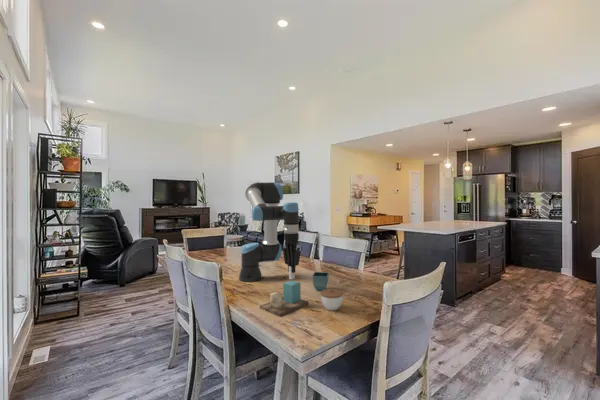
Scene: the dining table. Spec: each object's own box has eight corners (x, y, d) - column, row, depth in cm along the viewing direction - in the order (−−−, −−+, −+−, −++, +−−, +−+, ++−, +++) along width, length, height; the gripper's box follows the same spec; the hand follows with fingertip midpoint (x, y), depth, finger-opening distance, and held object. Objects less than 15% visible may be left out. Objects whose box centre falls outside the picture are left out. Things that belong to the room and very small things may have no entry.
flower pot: (327, 292, 167) (327, 276, 167) (312, 291, 168) (312, 275, 168) (329, 287, 175) (328, 272, 175) (314, 286, 177) (314, 271, 177)
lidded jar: (319, 304, 148) (319, 286, 148) (340, 303, 149) (340, 285, 149) (322, 312, 137) (322, 292, 137) (345, 311, 138) (345, 292, 138)
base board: (259, 308, 143) (259, 305, 143) (288, 298, 158) (288, 295, 158) (279, 316, 133) (279, 313, 133) (308, 304, 148) (308, 301, 148)
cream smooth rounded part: (268, 309, 141) (267, 294, 141) (276, 306, 145) (276, 291, 145) (276, 312, 138) (275, 297, 137) (284, 309, 142) (284, 294, 142)
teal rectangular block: (283, 300, 149) (283, 283, 149) (291, 297, 154) (291, 280, 154) (292, 303, 145) (291, 285, 145) (300, 300, 150) (300, 282, 150)
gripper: (277, 232, 151) (277, 277, 151) (295, 234, 142) (296, 282, 142) (287, 231, 156) (288, 275, 156) (305, 232, 148) (306, 279, 148)
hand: (291, 278), depth 149 cm, fingers closed
